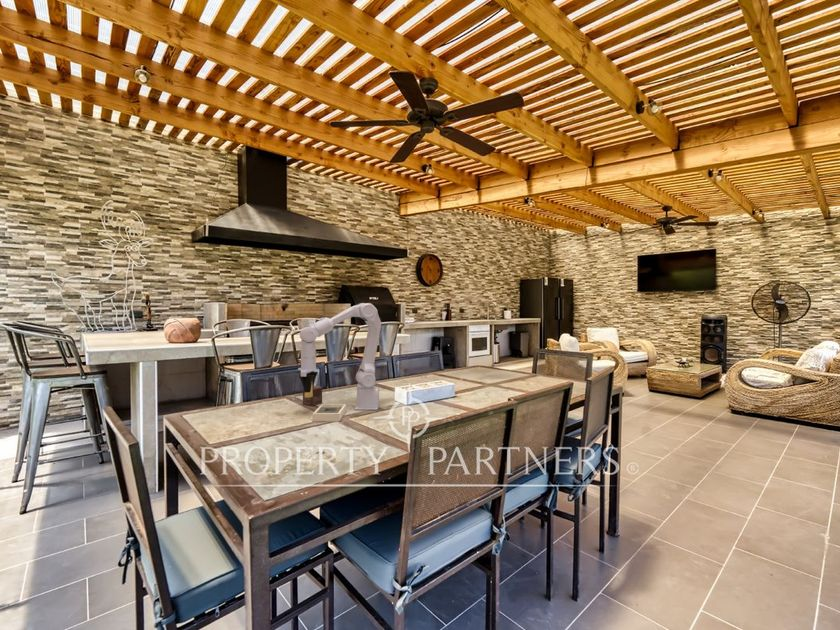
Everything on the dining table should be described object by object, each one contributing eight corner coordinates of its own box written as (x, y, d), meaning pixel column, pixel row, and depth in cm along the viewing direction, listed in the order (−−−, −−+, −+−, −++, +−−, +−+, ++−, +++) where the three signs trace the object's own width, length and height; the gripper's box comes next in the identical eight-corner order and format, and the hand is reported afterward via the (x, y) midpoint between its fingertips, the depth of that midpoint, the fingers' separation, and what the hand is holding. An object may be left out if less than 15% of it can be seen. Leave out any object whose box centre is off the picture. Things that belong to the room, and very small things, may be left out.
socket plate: (342, 412, 162) (342, 407, 162) (338, 418, 154) (338, 412, 154) (322, 412, 162) (322, 407, 162) (317, 417, 154) (317, 412, 154)
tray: (346, 411, 165) (346, 404, 165) (339, 421, 151) (339, 413, 151) (321, 411, 165) (321, 404, 165) (312, 421, 151) (312, 413, 151)
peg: (313, 395, 163) (313, 378, 163) (311, 397, 160) (311, 379, 160) (305, 395, 163) (305, 378, 163) (303, 397, 160) (303, 379, 160)
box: (322, 403, 178) (322, 386, 177) (312, 406, 173) (312, 389, 172) (312, 401, 181) (312, 385, 181) (302, 404, 176) (302, 387, 176)
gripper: (303, 354, 168) (303, 387, 169) (292, 360, 154) (292, 395, 154) (320, 354, 168) (320, 387, 169) (311, 360, 154) (311, 395, 154)
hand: (308, 391), depth 161 cm, fingers closed on peg, 3 cm apart
